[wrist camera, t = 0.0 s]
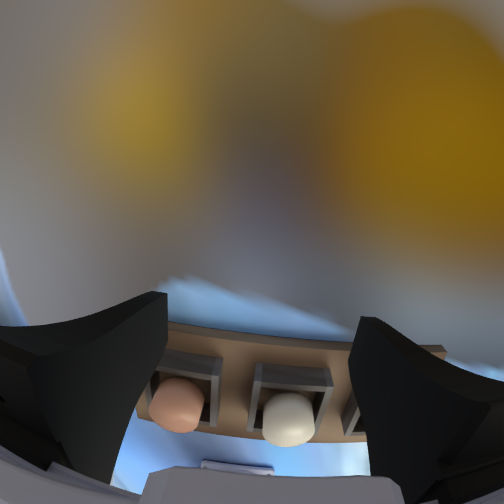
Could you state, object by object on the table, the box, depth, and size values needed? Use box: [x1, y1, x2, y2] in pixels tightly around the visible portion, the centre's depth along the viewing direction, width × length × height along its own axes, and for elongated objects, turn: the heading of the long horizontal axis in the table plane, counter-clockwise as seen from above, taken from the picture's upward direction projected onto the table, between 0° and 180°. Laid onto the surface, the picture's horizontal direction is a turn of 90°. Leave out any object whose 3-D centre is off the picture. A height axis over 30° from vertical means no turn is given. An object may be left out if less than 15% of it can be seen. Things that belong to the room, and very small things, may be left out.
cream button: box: [262, 391, 315, 447], centre depth 20 cm, size 4×4×2 cm
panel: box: [136, 322, 447, 443], centre depth 23 cm, size 11×26×3 cm, turn 84°
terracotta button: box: [149, 376, 205, 433], centre depth 20 cm, size 4×4×2 cm
